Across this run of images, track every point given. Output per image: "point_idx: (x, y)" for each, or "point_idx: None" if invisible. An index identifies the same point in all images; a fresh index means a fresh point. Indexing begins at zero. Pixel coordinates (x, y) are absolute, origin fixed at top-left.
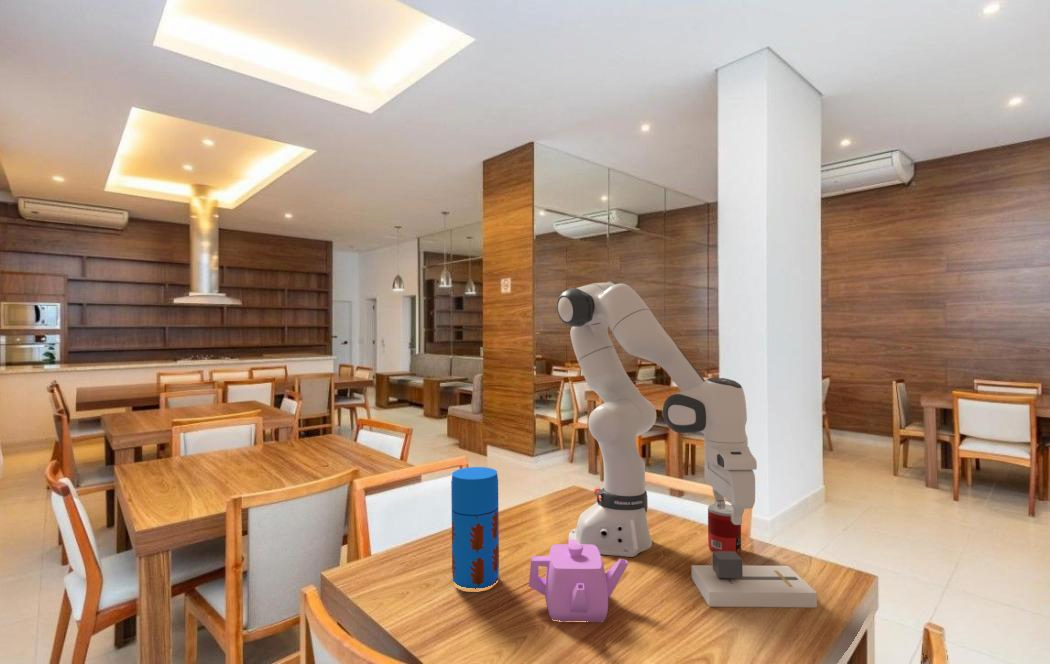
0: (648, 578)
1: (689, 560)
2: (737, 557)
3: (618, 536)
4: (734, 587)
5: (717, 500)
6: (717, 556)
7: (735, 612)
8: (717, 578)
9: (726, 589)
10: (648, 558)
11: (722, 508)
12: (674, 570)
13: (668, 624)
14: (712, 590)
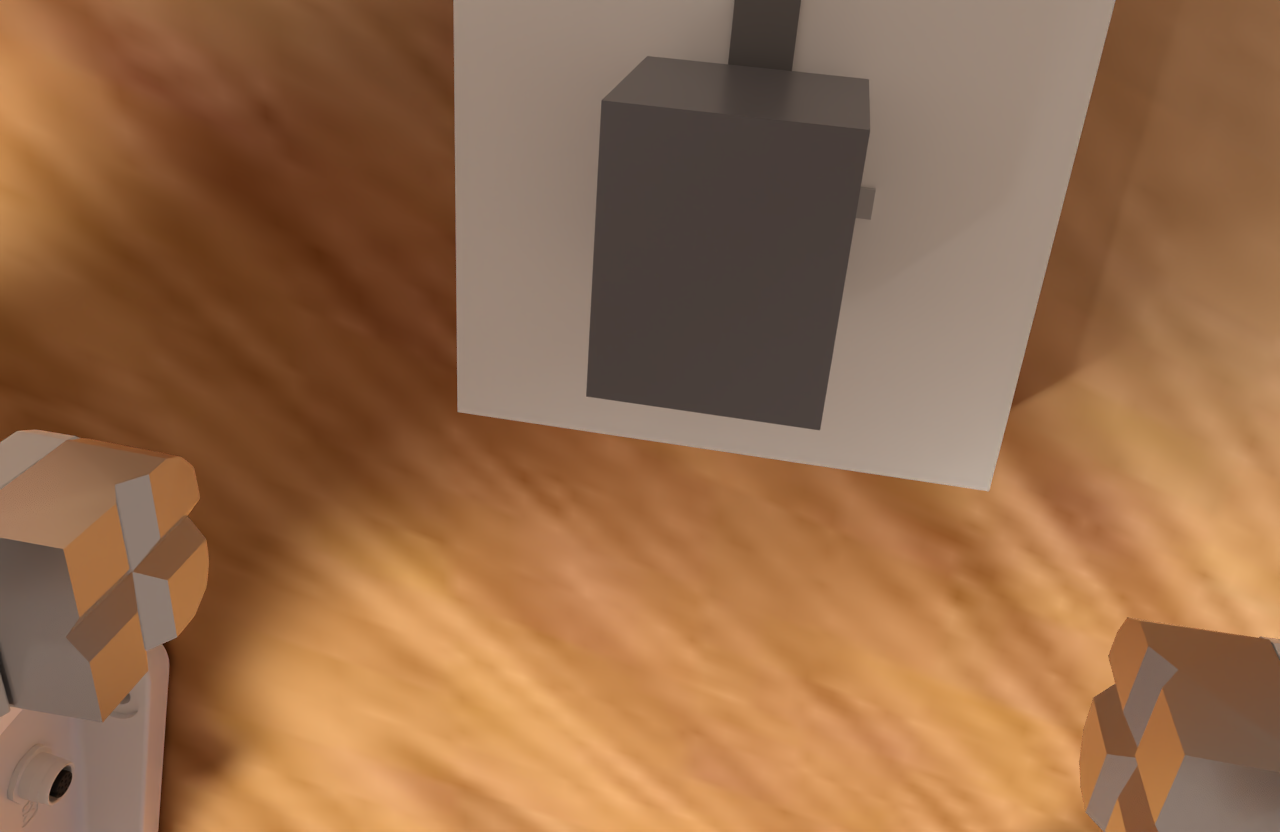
0: (497, 662)
1: (148, 230)
2: (798, 166)
3: (18, 800)
4: (955, 214)
5: (4, 675)
6: (737, 406)
7: (1116, 255)
8: None
9: (978, 315)
10: None
11: (190, 511)
12: (357, 436)
13: None
14: (967, 448)
